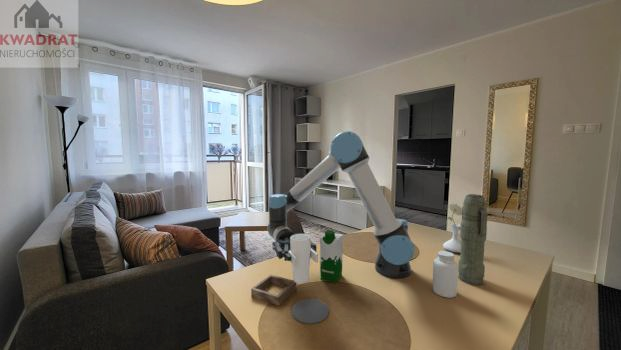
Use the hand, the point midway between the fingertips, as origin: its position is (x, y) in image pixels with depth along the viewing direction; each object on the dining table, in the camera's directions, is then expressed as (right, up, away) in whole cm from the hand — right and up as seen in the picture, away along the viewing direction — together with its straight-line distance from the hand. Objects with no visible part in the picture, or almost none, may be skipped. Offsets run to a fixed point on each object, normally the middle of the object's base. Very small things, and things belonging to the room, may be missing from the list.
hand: (306, 260), depth 78 cm
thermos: (+67, -16, +24) cm, 73 cm away
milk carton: (+10, -17, +27) cm, 33 cm away
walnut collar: (-12, -17, +16) cm, 26 cm away
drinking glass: (-2, -9, +5) cm, 11 cm away
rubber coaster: (+1, -18, +4) cm, 19 cm away
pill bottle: (+51, -17, +15) cm, 56 cm away
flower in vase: (+78, -14, +55) cm, 97 cm away
